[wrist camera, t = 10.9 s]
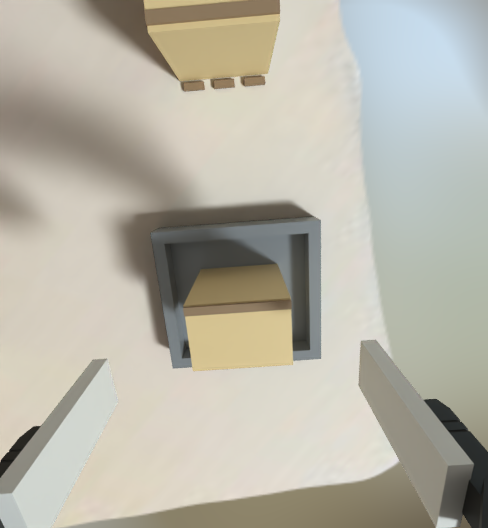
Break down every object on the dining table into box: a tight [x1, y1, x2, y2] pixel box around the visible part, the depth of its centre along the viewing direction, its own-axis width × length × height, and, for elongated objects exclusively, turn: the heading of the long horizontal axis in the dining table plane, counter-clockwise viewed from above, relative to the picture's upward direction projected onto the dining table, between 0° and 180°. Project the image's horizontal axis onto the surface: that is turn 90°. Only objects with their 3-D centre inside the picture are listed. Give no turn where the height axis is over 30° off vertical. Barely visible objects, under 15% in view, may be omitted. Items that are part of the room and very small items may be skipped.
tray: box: [150, 216, 321, 368], centre depth 27 cm, size 13×14×2 cm
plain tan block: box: [183, 264, 293, 371], centre depth 23 cm, size 5×7×8 cm
